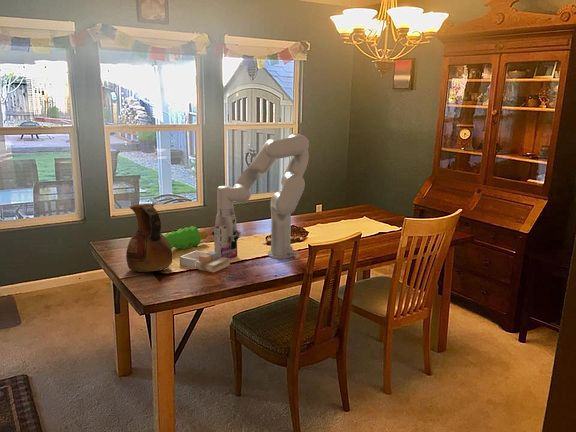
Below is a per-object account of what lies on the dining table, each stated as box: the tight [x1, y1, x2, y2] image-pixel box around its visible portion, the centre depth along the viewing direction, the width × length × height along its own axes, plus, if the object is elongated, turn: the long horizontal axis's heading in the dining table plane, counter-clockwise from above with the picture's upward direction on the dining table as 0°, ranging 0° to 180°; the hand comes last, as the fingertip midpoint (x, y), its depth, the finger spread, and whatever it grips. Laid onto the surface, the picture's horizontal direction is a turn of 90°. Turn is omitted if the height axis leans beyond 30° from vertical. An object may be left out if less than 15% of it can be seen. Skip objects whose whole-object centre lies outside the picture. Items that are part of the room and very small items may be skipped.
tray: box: [178, 250, 208, 269], centre depth 237 cm, size 9×12×4 cm
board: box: [195, 256, 231, 273], centre depth 232 cm, size 10×12×3 cm
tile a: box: [206, 250, 218, 260], centre depth 235 cm, size 4×4×2 cm
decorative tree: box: [163, 225, 208, 250], centre depth 257 cm, size 11×12×30 cm
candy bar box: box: [213, 225, 238, 260], centre depth 244 cm, size 11×5×16 cm, turn 143°
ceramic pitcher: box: [125, 203, 173, 273], centre depth 224 cm, size 20×20×30 cm
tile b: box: [199, 254, 211, 263], centre depth 231 cm, size 4×4×2 cm
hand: (225, 247), depth 245 cm, fingers open, 8 cm apart
